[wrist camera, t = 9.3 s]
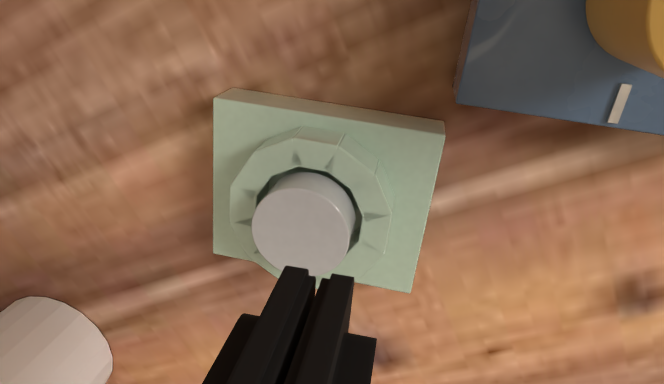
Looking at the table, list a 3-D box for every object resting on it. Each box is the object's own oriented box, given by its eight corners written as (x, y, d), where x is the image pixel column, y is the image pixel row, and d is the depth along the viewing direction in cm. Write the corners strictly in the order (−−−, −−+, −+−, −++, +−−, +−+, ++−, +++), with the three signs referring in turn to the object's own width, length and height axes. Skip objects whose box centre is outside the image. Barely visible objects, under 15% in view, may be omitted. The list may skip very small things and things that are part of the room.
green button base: (444, 120, 21) (447, 149, 18) (412, 268, 25) (408, 318, 21) (231, 86, 22) (193, 107, 19) (228, 232, 26) (196, 273, 22)
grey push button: (361, 180, 19) (355, 198, 18) (349, 263, 21) (343, 286, 19) (266, 163, 20) (252, 179, 18) (262, 245, 21) (249, 266, 20)
